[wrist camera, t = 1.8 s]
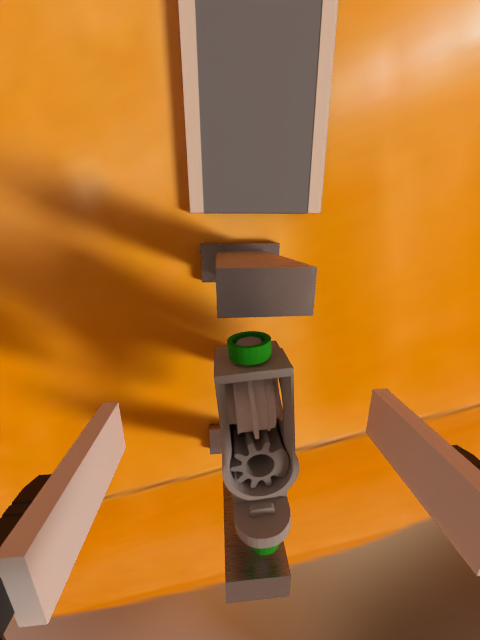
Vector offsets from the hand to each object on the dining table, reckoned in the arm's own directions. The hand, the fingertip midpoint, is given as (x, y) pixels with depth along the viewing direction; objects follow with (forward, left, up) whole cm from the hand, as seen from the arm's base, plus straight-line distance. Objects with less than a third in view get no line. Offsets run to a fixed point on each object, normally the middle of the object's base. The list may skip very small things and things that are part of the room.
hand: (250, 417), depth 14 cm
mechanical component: (0, 0, -7) cm, 7 cm away
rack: (0, 0, -6) cm, 6 cm away
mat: (-16, +1, -6) cm, 18 cm away
